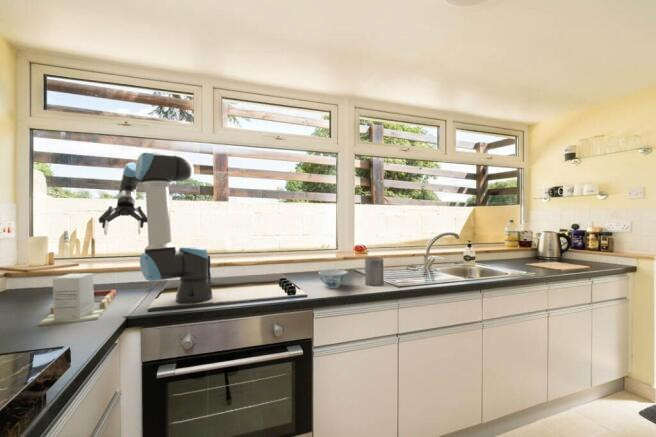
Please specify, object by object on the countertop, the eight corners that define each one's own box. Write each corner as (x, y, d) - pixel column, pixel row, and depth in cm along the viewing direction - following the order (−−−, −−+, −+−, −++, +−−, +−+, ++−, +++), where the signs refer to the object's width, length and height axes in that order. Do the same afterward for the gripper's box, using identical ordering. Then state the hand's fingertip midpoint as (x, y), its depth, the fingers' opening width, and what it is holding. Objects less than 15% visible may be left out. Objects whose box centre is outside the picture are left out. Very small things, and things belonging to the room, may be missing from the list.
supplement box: (70, 312, 126) (69, 273, 125) (94, 311, 126) (94, 272, 126) (52, 319, 116) (51, 278, 116) (79, 318, 117) (78, 277, 117)
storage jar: (199, 286, 171) (198, 258, 171) (187, 284, 176) (187, 256, 176) (214, 282, 180) (214, 255, 179) (203, 281, 185) (202, 254, 185)
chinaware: (352, 285, 171) (352, 270, 171) (338, 291, 159) (338, 275, 159) (328, 282, 179) (328, 268, 179) (312, 287, 167) (312, 272, 167)
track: (72, 298, 149) (72, 291, 149) (116, 294, 156) (116, 288, 156) (38, 326, 112) (38, 317, 112) (97, 319, 119) (97, 311, 119)
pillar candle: (370, 281, 181) (370, 254, 181) (386, 283, 175) (386, 255, 175) (361, 284, 173) (361, 256, 173) (378, 287, 168) (378, 258, 167)
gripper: (154, 206, 175) (152, 236, 162) (98, 206, 165) (91, 238, 151) (153, 196, 170) (151, 226, 157) (95, 195, 160) (88, 227, 146)
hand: (122, 232), depth 154 cm, fingers open, 13 cm apart
